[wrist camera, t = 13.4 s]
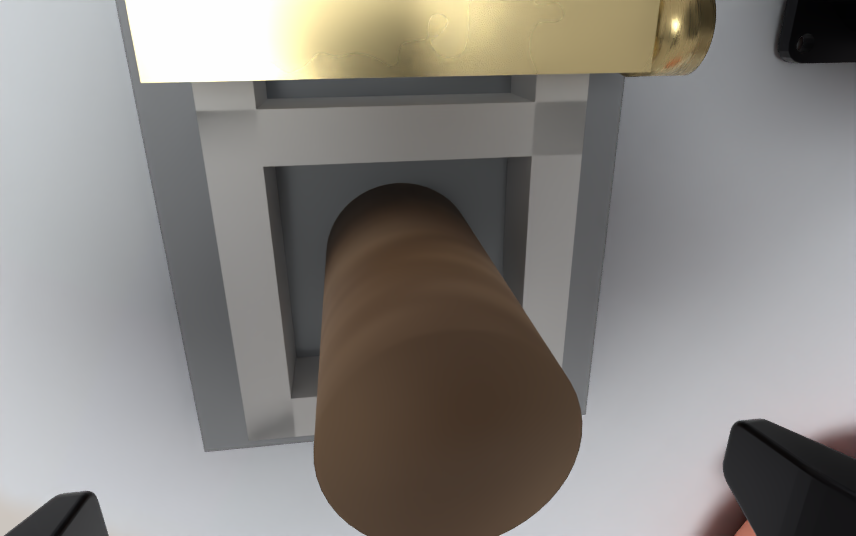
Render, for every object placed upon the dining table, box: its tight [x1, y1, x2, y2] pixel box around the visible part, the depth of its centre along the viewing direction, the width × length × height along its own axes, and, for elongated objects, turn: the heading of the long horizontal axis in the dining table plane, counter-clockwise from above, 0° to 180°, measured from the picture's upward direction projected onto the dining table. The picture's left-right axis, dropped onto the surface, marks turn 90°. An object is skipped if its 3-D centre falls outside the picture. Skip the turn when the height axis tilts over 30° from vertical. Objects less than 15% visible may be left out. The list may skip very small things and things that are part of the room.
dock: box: [115, 0, 625, 452], centre depth 14 cm, size 12×18×3 cm
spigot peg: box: [314, 183, 582, 536], centre depth 12 cm, size 4×4×8 cm
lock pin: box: [125, 0, 716, 83], centre depth 11 cm, size 10×2×2 cm, turn 90°
